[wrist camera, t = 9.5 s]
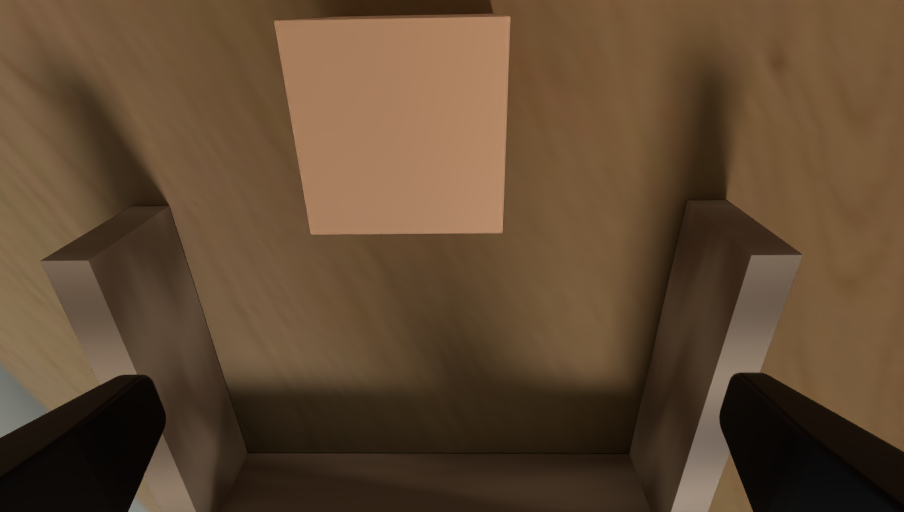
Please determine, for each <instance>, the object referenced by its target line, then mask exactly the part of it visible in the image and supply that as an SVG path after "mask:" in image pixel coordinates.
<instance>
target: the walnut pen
mask: <svg viewBox="0 0 904 512" xmlns="http://www.w3.org/2000/svg"><path fill="white" fill-rule="evenodd" d="M802 256H803V255H802V254H801V253H800V252H798V251H797V250H795V249H794V248H793V247H791V246H790V245H789V244H787V243H786V242H784V241H783V240H782V239H780V238H779V237H777V236H776V235H775V234H773V233H772V232H771V231H769V230H768V229H766V228H765V227H764V226H762V225H761V224H759V223H758V222H757V221H755V220H754V219H753V218H751V217H750V216H748V215H747V214H746V213H744V212H743V211H741V210H740V209H739V208H737V207H736V206H735V205H733V204H732V203H730V202H729V201H728V200H687V203H686V207H685V211H684V216H683V220H682V224H681V229H680V233H679V238H678V242H677V246H676V251H675V255H674V260H673V264H672V268H671V273H670V277H669V282H668V286H667V290H666V295H665V299H664V303H663V308H662V312H661V317H660V321H659V325H658V330H657V334H656V339H655V343H654V347H653V352H652V356H651V360H650V365H649V369H648V374H647V378H646V382H645V387H644V391H643V396H642V400H641V404H640V409H639V413H638V417H637V422H636V426H635V431H634V435H633V439H632V444H631V448H630V453H629V454H369V453H248V452H247V449H246V446H245V443H244V440H243V437H242V434H241V430H240V427H239V424H238V421H237V418H236V415H235V412H234V408H233V405H232V402H231V399H230V396H229V393H228V390H227V386H226V383H225V380H224V377H223V374H222V371H221V368H220V364H219V361H218V358H217V355H216V352H215V349H214V346H213V343H212V339H211V336H210V333H209V330H208V327H207V324H206V321H205V317H204V314H203V311H202V308H201V305H200V302H199V299H198V295H197V292H196V289H195V286H194V283H193V280H192V277H191V273H190V270H189V267H188V264H187V261H186V258H185V255H184V251H183V248H182V245H181V242H180V239H179V236H178V233H177V230H176V226H175V223H174V220H173V217H172V214H171V211H170V208H169V206H131V207H129V208H128V209H126V210H124V211H123V212H121V213H119V214H118V215H116V216H114V217H113V218H111V219H109V220H108V221H106V222H104V223H103V224H101V225H99V226H98V227H96V228H94V229H93V230H91V231H89V232H88V233H86V234H84V235H83V236H81V237H79V238H78V239H76V240H74V241H73V242H71V243H69V244H68V245H66V246H64V247H63V248H61V249H59V250H58V251H56V252H54V253H53V254H51V255H49V256H48V257H46V258H44V259H43V260H41V263H42V266H43V268H44V270H45V272H46V274H47V276H48V278H49V280H50V282H51V284H52V286H53V288H54V290H55V292H56V295H57V297H58V299H59V301H60V303H61V305H62V307H63V309H64V311H65V313H66V315H67V317H68V319H69V321H70V324H71V326H72V328H73V330H74V332H75V334H76V336H77V338H78V340H79V342H80V344H81V346H82V348H83V350H84V353H85V355H86V357H87V359H88V361H89V363H90V365H91V367H92V369H93V371H94V373H95V375H96V377H97V379H98V382H99V384H100V385H101V384H103V383H105V382H107V381H109V380H111V379H113V378H115V377H117V376H120V375H136V374H143V375H147V376H149V377H150V378H151V379H152V380H153V382H154V384H155V386H156V389H157V391H158V394H159V397H160V399H161V402H162V404H163V407H164V409H165V412H166V424H165V428H164V431H163V433H162V436H161V438H160V440H159V442H158V445H157V447H156V449H155V451H154V454H153V456H152V458H151V461H150V463H149V465H148V467H147V470H146V472H145V474H144V477H145V479H146V481H147V483H148V485H149V487H150V489H151V491H152V493H153V495H154V498H155V500H156V502H157V504H158V506H159V508H160V510H161V512H708V510H709V507H710V504H711V501H712V499H713V496H714V493H715V491H716V488H717V485H718V483H719V480H720V477H721V475H722V472H723V469H724V466H725V464H726V461H727V458H728V456H729V453H730V451H729V448H728V445H727V443H726V440H725V438H724V435H723V433H722V430H721V427H720V421H719V414H720V409H721V406H722V403H723V400H724V396H725V393H726V390H727V387H728V384H729V381H730V378H731V377H732V376H733V375H734V374H736V373H739V372H760V369H761V367H762V364H763V361H764V359H765V356H766V353H767V351H768V348H769V345H770V343H771V340H772V337H773V334H774V332H775V329H776V326H777V324H778V321H779V318H780V316H781V313H782V310H783V308H784V305H785V302H786V299H787V297H788V294H789V291H790V289H791V286H792V283H793V281H794V278H795V275H796V273H797V270H798V267H799V264H800V262H801V259H802Z"/></svg>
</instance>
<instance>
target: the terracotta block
mask: <svg viewBox="0 0 904 512" xmlns="http://www.w3.org/2000/svg"><path fill="white" fill-rule="evenodd" d="M274 24H275V29H276V35H277V41H278V47H279V53H280V58H281V64H282V70H283V76H284V82H285V87H286V93H287V99H288V105H289V111H290V117H291V122H292V128H293V134H294V140H295V146H296V151H297V157H298V163H299V169H300V175H301V180H302V186H303V192H304V198H305V204H306V209H307V215H308V221H309V227H310V233H311V235H318V234H445V233H503V207H504V179H505V152H506V124H507V97H508V69H509V42H510V16H505V15H498V14H449V15H396V16H343V17H325V18H309V19H294V20H279V21H274Z"/></svg>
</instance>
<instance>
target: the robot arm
mask: <svg viewBox="0 0 904 512" xmlns="http://www.w3.org/2000/svg"><path fill="white" fill-rule="evenodd" d="M719 421H720V427H721V430H722V433H723V435H724V438H725V440H726V443H727V445H728V448H729V451H730V453H731V456H732V458H733V461H734V463H735V466H736V468H737V471H738V474H739V476H740V479H741V481H742V484H743V486H744V489H745V492H746V494H747V497H748V499H749V502H750V504H751V507H752V510H753V512H904V452H903V451H901V450H900V449H898V448H896V447H894V446H892V445H891V444H889V443H887V442H885V441H884V440H882V439H880V438H878V437H877V436H875V435H873V434H871V433H869V432H868V431H866V430H864V429H862V428H861V427H859V426H857V425H855V424H854V423H852V422H850V421H848V420H847V419H845V418H843V417H841V416H839V415H838V414H836V413H834V412H832V411H831V410H829V409H827V408H825V407H824V406H822V405H820V404H818V403H817V402H815V401H813V400H811V399H809V398H808V397H806V396H804V395H802V394H801V393H799V392H797V391H795V390H794V389H792V388H790V387H788V386H787V385H785V384H783V383H781V382H779V381H778V380H776V379H774V378H772V377H771V376H769V375H767V374H764V373H759V372H739V373H736V374H734V375H733V376H732V377H731V378H730V381H729V384H728V387H727V390H726V393H725V396H724V400H723V403H722V406H721V409H720V414H719ZM165 424H166V412H165V409H164V407H163V404H162V402H161V399H160V397H159V394H158V391H157V389H156V386H155V384H154V382H153V380H152V379H151V378H150V377H149V376H147V375H143V374H136V375H120V376H117V377H115V378H113V379H111V380H109V381H107V382H105V383H103V384H101V385H99V386H98V387H96V388H94V389H92V390H90V391H88V392H86V393H84V394H82V395H81V396H79V397H77V398H75V399H73V400H71V401H69V402H67V403H65V404H63V405H62V406H60V407H58V408H56V409H54V410H52V411H50V412H48V413H46V414H45V415H43V416H41V417H39V418H37V419H35V420H33V421H32V422H29V423H28V424H26V425H24V426H22V427H20V428H18V429H16V430H14V431H13V432H11V433H9V434H7V435H5V436H3V437H1V438H0V512H128V510H129V508H130V506H131V504H132V501H133V499H134V497H135V495H136V492H137V490H138V488H139V486H140V483H141V481H142V479H143V476H144V474H145V472H146V470H147V467H148V465H149V463H150V461H151V458H152V456H153V454H154V451H155V449H156V447H157V445H158V442H159V440H160V438H161V436H162V433H163V431H164V428H165Z"/></svg>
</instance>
